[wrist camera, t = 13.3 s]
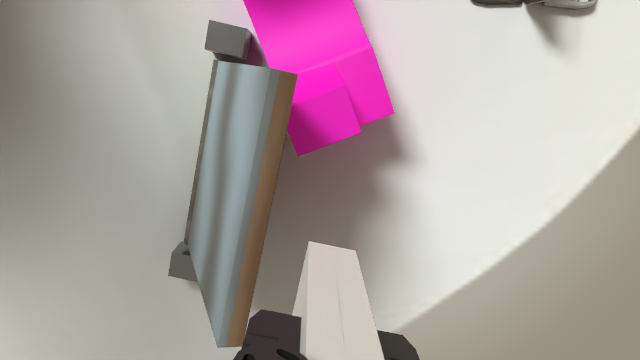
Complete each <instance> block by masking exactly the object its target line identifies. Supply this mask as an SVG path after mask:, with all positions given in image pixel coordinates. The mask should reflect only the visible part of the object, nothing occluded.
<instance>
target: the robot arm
mask: <svg viewBox="0 0 640 360" xmlns="http://www.w3.org/2000/svg"><path fill="white" fill-rule="evenodd" d="M233 360H420V359H419V357H418V355H417V352H416V349H415V348H414V347H413V346H412V345H411V344H410V343H409V342H408V340H406V338H405V337H404V336H403V335H399V334H394V333H389V332H384V331H379V330H377V329H376V326H375V322H374V318H373V314H372V310H371V307H370V303H369V299H368V295H367V291H366V288H365V284H364V280H363V276H362V272H361V269H360V265H359V261H358V257H357V253H356V251H355V250H350V249H345V248H340V247H335V246H330V245H326V244H321V243H316V242H311V241H309V243H308V247H307V252H306V256H305V260H304V265H303V269H302V274H301V278H300V282H299V287H298V291H297V296H296V300H295V304H294V309H293V313H292V315H287V314H282V313H277V312H272V311H267V310H262V309H261V310H260V311H259V312H258V313H256V314H255V315H254V316H253V317H252V318H250V320H249V324H248V327H247V331H246V335H245V338H244V342H243V346H242V349H241V350H240V351H239V352H238V353H237V355H236V356H235V358H234V359H233Z"/></svg>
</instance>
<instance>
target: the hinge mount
mask: <svg viewBox="0 0 640 360" xmlns="http://www.w3.org/2000/svg"><path fill="white" fill-rule="evenodd" d="M251 35H252V33H251V32H250V31H249V30H248V29H246V28H242V27H237V26H233V25H229V24H224V23H220V22H216V21H211V20H209V25H208V31H207V37H206V44H205V49H206V50H208V51H211V52H214V53H219V54H223V55H228V56H232V57H236V58H241V59H245V60H247V57H248V52H249V46H250V40H251ZM168 276H172V277H177V278H182V279H187V280H192V281H197V282H198V279H197V276H196V272H195V269H194V265H193V262H192V258H191V255H190V252H189V248H188V245H186V244H185V243H184V242H181V243H180V244H179V245H178V246H177V247H176V248H175V250H174V251H173V252H172V256H171V262H170V269H169V275H168Z"/></svg>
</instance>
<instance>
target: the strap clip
mask: <svg viewBox="0 0 640 360" xmlns="http://www.w3.org/2000/svg"><path fill="white" fill-rule="evenodd" d="M471 1H472V2H473V3H477V4H482V5H486V6H487V5H519V4H521V3H522V1H523V0H471ZM524 1H525V0H524ZM540 2H541V5H542V6H546V7H555V8H564V9H583V8H588V7H591V6H594V5H595V4H596V2H597V0H588V2H579V0H526V3H527V4H534V3H540Z"/></svg>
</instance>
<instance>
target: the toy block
mask: <svg viewBox="0 0 640 360" xmlns="http://www.w3.org/2000/svg"><path fill="white" fill-rule="evenodd" d="M243 1H244V3H245V6H246V8H247V11H248V13H249V16H250V18H251V21H252V23H253V26H254V28H255V31H256V33H257V36H258V39H259V41H260V44H261V47H262V49H263V52H264V55H265V57H266V60H267V63H268V66H269V68H273V69H277V70H282V71H286V72H290V73H294V74H298V77H297V81H296V86H295V91H294V96H293V101H292V106H291V111H290V116H289V121H288V126H287V130H288V132H289V135H290V138H291V140H292V143H293V145H294V148H295V150H296V153H297V155H298V156H300V155H303V154H305V153H308V152H311V151H313V150H316V149H319V148H321V147H324V146H327V145H329V144H332V143H335V142H337V141H340V140H342V139H345V138H348V137H350V136H353V135H356V134H358V133H361V129H360V127H359V126H362V125H364V124H367V123H370V122H372V121H375V120H378V119H380V118H383V117H385V116H388V115H391V114H393V113H394V110H393V107H392V104H391V101H390V98H389V95H388V92H387V89H386V86H385V83H384V80H383V77H382V74H381V71H380V68H379V65H378V63H377V60H376V57H375V54H374V51H373V48H372V46H371V44H370V42H369V40H368V38H367V36H366V34H365V31H364V29H363V27H362V24H361V22H360V19H359V17H358V14H357V12H356V9H355V7H354V4H353V1H352V0H243Z"/></svg>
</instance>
